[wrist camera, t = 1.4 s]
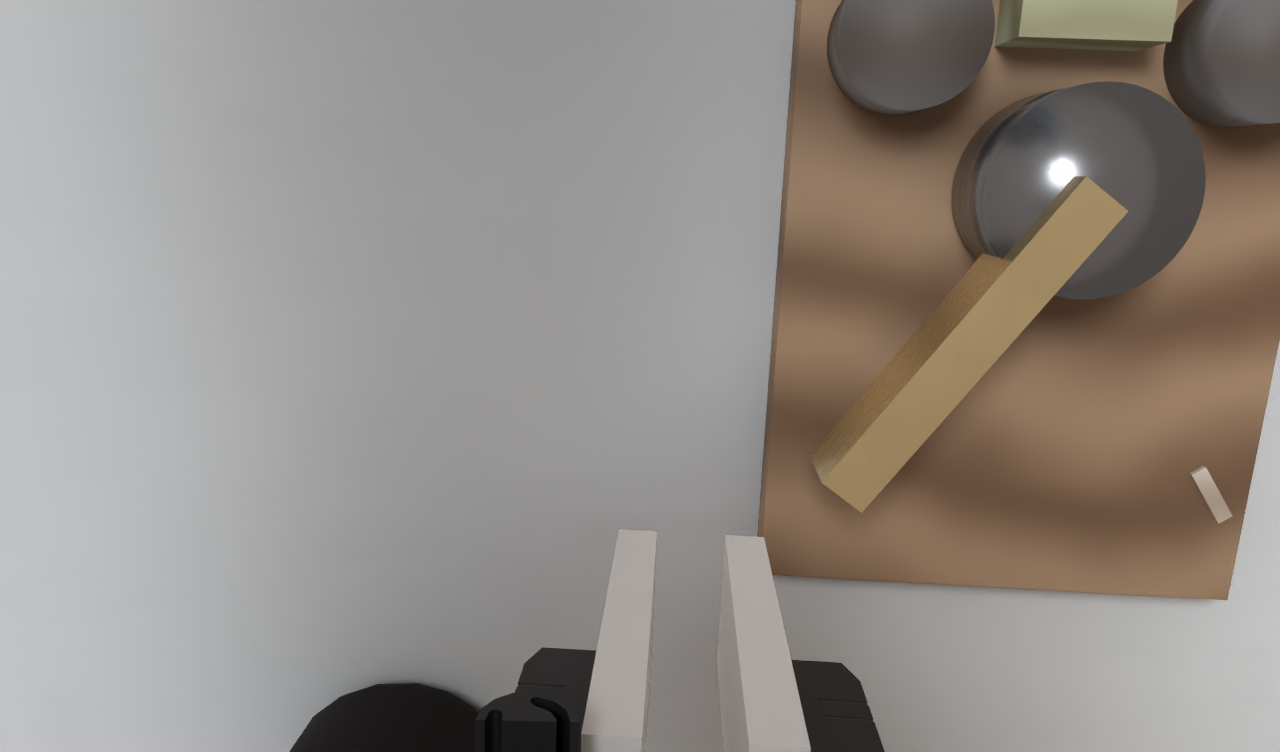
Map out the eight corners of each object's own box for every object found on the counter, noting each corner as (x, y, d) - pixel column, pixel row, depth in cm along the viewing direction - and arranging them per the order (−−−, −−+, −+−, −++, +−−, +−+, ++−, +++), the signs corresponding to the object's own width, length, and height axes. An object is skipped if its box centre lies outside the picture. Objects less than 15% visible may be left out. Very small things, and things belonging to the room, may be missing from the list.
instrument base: (798, -37, 34) (818, -72, 29) (1314, -21, 33) (1424, -55, 28) (756, 554, 39) (766, 608, 34) (1199, 578, 38) (1274, 637, 34)
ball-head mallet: (1043, 50, 32) (1103, 30, 27) (1187, 171, 33) (1270, 171, 28) (752, 403, 35) (762, 438, 31) (888, 507, 36) (918, 556, 31)
